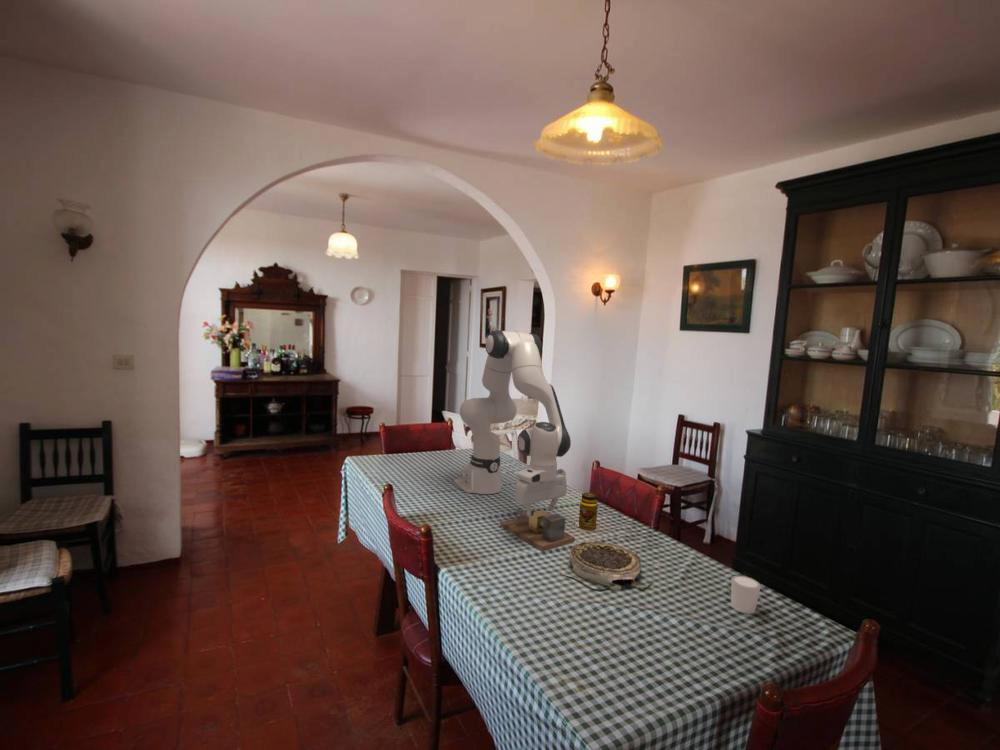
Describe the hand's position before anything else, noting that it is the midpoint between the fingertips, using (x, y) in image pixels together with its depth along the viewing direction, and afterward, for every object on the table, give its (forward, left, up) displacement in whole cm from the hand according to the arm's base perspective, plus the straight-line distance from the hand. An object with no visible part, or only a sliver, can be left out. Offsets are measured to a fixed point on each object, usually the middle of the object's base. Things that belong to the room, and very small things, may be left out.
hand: (540, 512), depth 167 cm
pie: (+27, +2, -9) cm, 29 cm away
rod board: (-1, 0, -8) cm, 8 cm away
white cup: (+61, +17, -8) cm, 63 cm away
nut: (0, 0, -6) cm, 6 cm away
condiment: (+3, +20, -8) cm, 22 cm away
